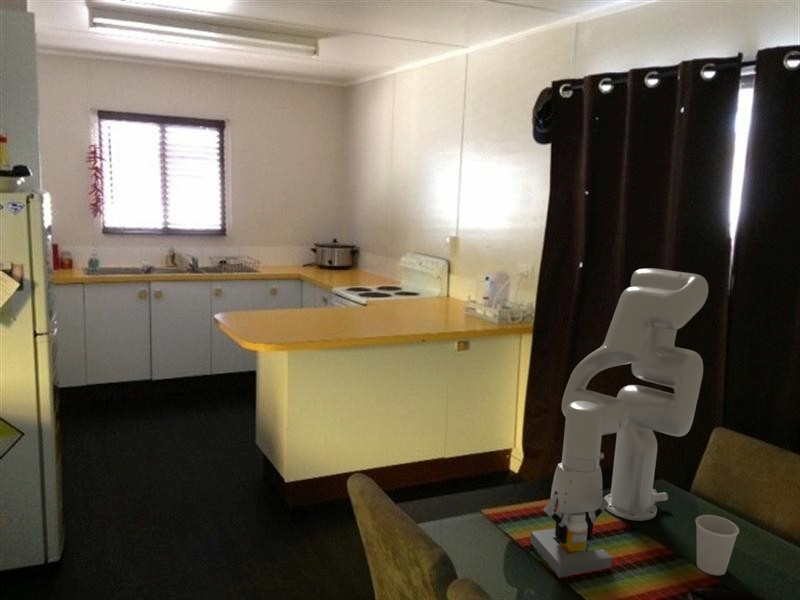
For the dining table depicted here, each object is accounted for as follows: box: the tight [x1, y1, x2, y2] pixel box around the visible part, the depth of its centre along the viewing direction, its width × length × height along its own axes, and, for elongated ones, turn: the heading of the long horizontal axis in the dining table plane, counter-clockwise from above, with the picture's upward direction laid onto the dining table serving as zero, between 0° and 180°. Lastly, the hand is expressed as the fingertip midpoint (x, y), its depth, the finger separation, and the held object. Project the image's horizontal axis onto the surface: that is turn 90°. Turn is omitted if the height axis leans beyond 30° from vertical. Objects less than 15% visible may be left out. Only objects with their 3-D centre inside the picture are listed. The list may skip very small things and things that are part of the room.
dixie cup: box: [695, 514, 740, 576], centre depth 141 cm, size 8×8×10 cm
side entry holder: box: [529, 528, 613, 579], centre depth 143 cm, size 12×13×3 cm
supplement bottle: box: [560, 512, 588, 554], centre depth 143 cm, size 5×5×10 cm
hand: (573, 537), depth 143 cm, fingers closed on supplement bottle, 5 cm apart
